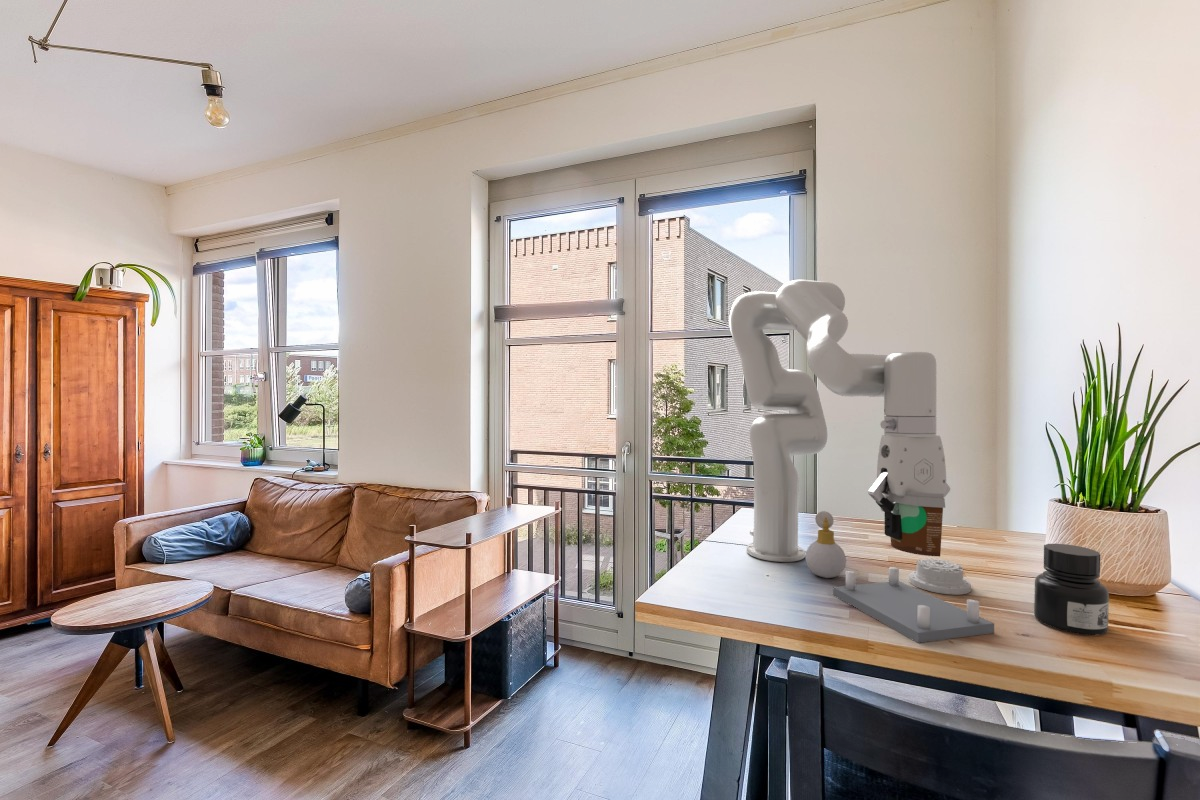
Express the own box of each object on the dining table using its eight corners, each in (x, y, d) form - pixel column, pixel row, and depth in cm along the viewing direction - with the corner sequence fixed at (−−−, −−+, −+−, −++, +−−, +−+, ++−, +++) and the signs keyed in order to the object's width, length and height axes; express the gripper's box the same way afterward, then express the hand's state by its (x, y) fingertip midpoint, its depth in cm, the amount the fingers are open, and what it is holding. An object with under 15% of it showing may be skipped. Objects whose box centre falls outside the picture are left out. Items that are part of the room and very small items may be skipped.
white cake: (920, 594, 100) (981, 598, 98) (920, 570, 100) (981, 573, 98) (901, 576, 110) (956, 579, 108) (901, 554, 110) (956, 557, 108)
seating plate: (833, 595, 99) (833, 570, 98) (898, 588, 102) (898, 564, 102) (918, 643, 80) (918, 612, 80) (994, 632, 83) (994, 603, 83)
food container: (870, 538, 97) (870, 481, 97) (907, 538, 96) (907, 481, 96) (903, 558, 84) (903, 493, 84) (945, 559, 84) (945, 494, 84)
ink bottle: (1086, 642, 80) (1088, 561, 80) (1020, 619, 89) (1021, 545, 88) (1121, 630, 84) (1123, 553, 84) (1055, 609, 92) (1056, 539, 92)
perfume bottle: (816, 583, 105) (816, 520, 105) (794, 566, 115) (794, 509, 114) (853, 582, 106) (854, 520, 105) (828, 565, 115) (829, 509, 115)
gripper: (882, 429, 85) (882, 545, 85) (972, 427, 89) (972, 538, 89) (849, 426, 92) (849, 533, 92) (933, 425, 96) (933, 527, 96)
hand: (909, 534), depth 90 cm, fingers closed on food container, 5 cm apart
